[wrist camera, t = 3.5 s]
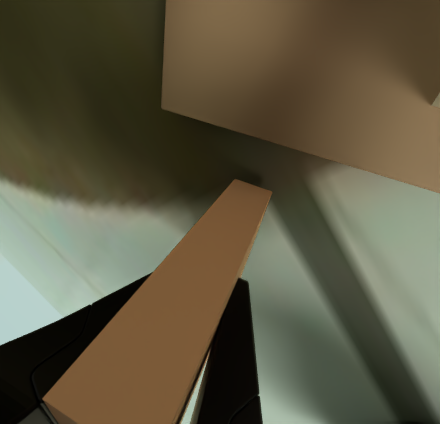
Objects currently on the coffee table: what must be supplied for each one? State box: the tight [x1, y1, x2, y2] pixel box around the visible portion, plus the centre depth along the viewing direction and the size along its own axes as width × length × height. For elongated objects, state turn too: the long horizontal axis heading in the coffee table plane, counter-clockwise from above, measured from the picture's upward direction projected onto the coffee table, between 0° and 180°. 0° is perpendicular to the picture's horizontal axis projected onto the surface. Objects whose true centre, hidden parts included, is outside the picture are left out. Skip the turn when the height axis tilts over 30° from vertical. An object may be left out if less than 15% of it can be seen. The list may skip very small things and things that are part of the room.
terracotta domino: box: [43, 179, 272, 424], centre depth 7 cm, size 2×5×8 cm, turn 166°
